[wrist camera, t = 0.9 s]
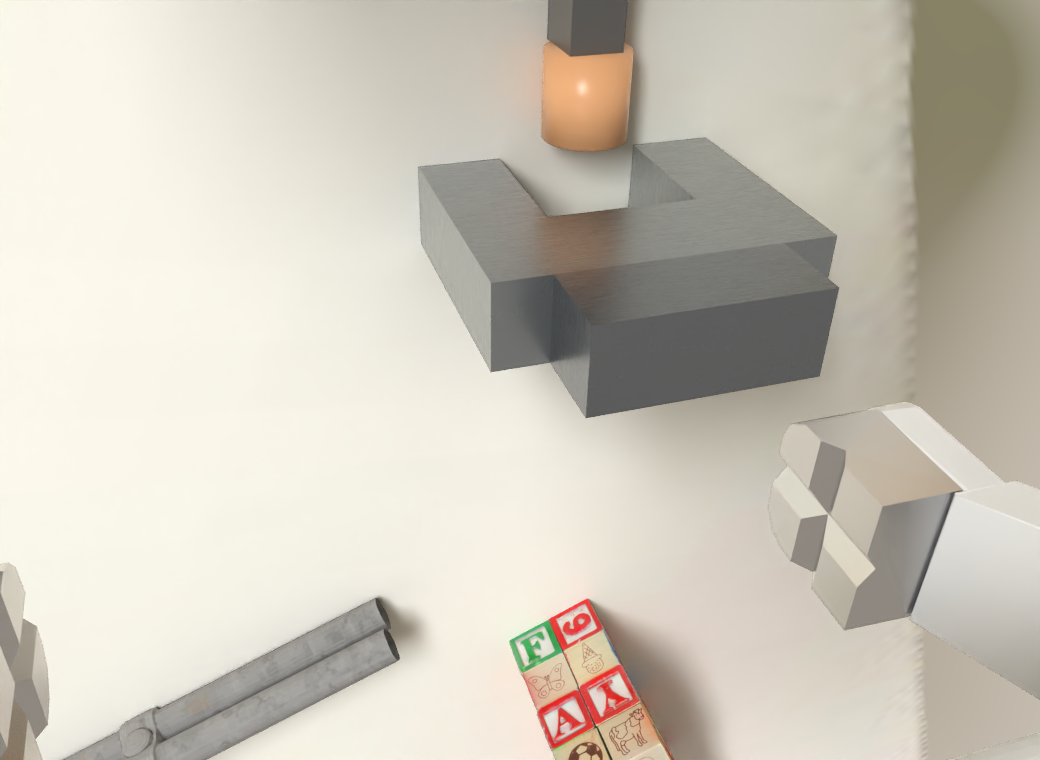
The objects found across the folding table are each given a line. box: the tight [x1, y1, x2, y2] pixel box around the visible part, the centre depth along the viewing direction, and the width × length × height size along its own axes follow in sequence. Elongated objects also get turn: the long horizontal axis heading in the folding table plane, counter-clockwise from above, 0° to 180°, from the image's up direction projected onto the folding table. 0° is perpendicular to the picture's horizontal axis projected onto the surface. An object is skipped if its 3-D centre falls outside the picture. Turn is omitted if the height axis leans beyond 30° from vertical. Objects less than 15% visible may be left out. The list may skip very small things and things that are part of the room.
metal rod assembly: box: [64, 598, 400, 760], centre depth 59 cm, size 26×3×5 cm, turn 111°
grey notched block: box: [418, 138, 839, 418], centre depth 44 cm, size 4×15×16 cm, turn 89°
